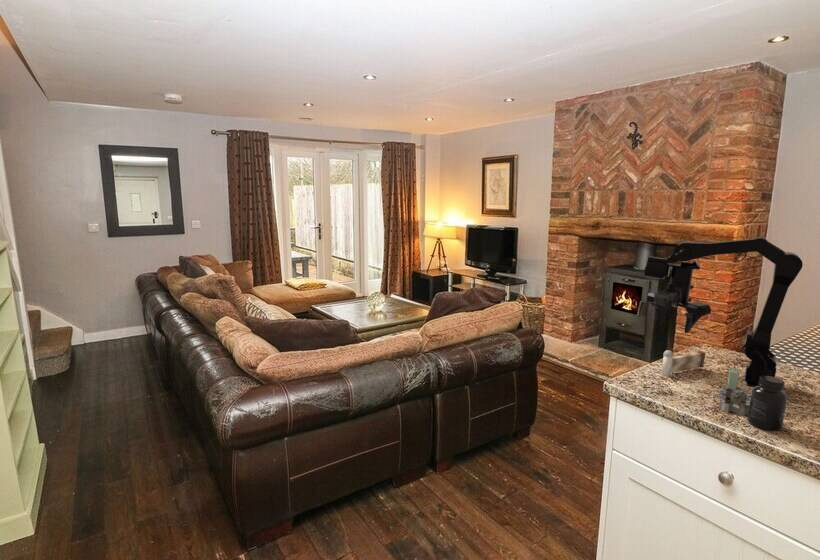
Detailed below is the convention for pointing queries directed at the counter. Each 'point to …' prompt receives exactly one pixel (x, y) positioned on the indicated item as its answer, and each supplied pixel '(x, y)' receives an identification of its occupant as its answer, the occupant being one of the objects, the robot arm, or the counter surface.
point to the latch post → (733, 378)
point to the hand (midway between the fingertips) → (673, 328)
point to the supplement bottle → (768, 404)
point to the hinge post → (667, 363)
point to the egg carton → (734, 400)
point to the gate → (688, 361)
